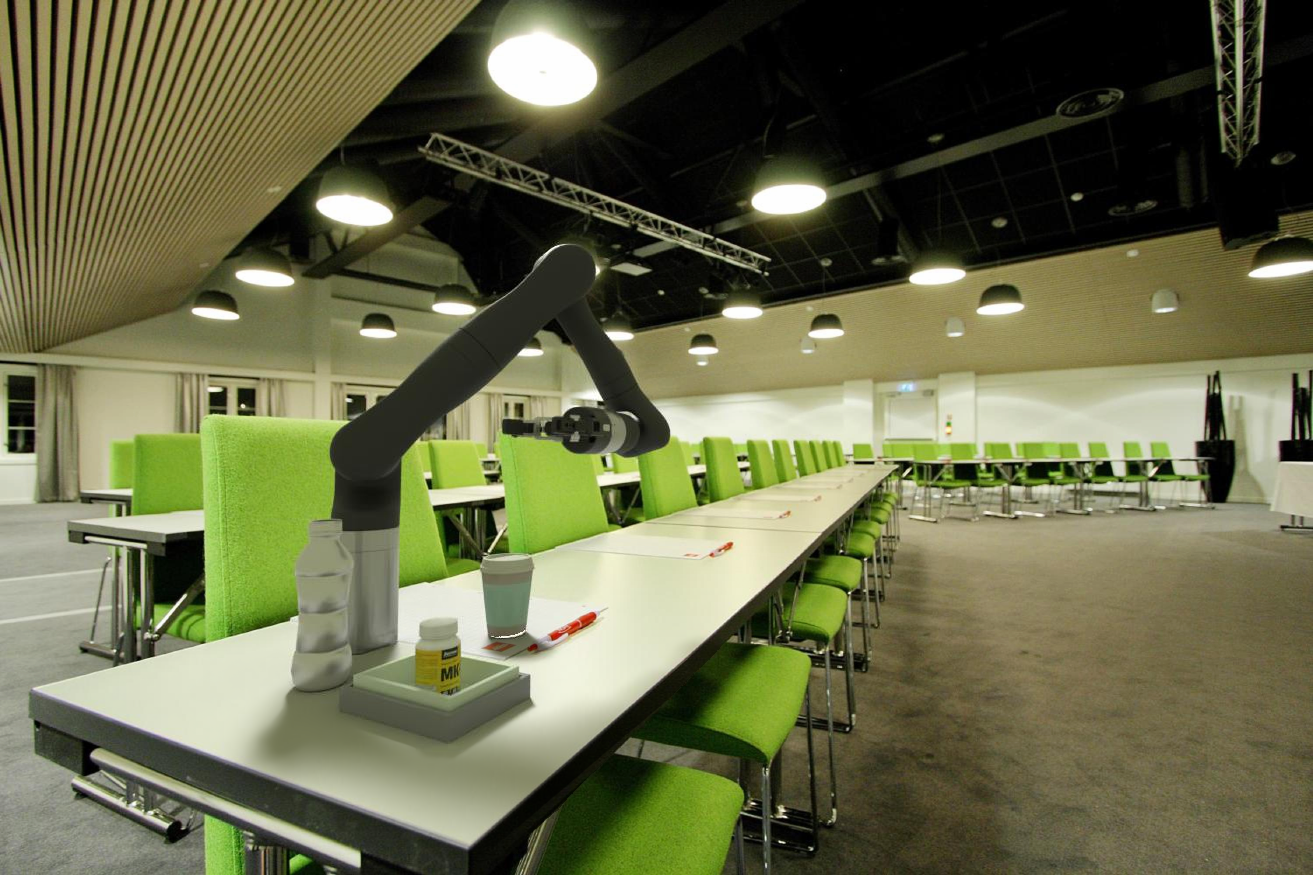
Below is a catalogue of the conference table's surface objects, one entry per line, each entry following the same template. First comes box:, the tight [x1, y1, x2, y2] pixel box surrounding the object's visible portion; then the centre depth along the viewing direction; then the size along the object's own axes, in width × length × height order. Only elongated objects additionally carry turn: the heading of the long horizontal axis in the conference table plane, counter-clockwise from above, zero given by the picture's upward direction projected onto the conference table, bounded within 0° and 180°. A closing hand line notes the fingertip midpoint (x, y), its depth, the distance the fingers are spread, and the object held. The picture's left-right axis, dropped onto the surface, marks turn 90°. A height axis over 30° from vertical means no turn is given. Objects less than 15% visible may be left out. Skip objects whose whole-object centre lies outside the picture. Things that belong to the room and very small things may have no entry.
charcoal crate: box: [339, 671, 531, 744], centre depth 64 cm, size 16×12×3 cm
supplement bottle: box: [414, 616, 462, 696], centre depth 64 cm, size 5×5×8 cm
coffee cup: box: [478, 552, 536, 637], centre depth 92 cm, size 8×9×12 cm
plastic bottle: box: [290, 518, 354, 693], centre depth 70 cm, size 6×7×20 cm
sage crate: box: [352, 652, 520, 713], centre depth 64 cm, size 14×10×4 cm
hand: (528, 425), depth 79 cm, fingers open, 8 cm apart
